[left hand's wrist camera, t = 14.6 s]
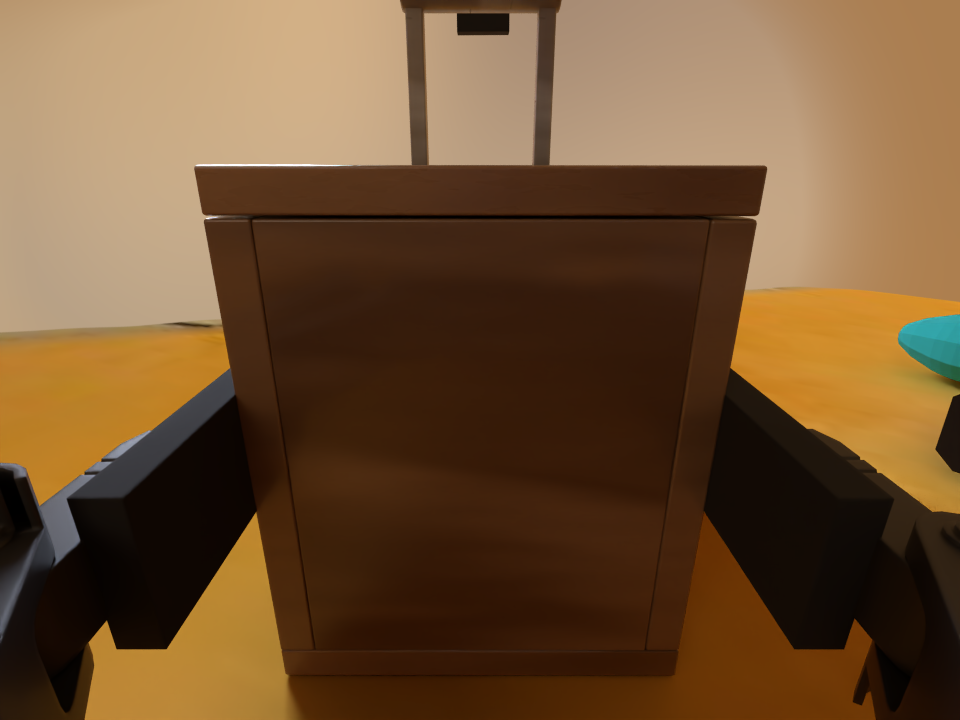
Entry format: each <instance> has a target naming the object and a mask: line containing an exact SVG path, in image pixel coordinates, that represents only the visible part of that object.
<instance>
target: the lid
mask: <svg viewBox="0 0 960 720" xmlns="http://www.w3.org/2000/svg"><path fill="white" fill-rule="evenodd" d="M400 2H401V7H402V10H403V12H404V13H405V15H406V38H407V63H408V86H409V110H410V133H411V156H412V165H197V166H195V168H194V170H195V175H196V180H197V186H198V192H199V197H200V203H201V208H202V213H203V214H204V215H213V216H214V215H215V216H217V215H218V216H756V215H758V214H759V211H760V206H761V200H762V195H763V189H764V184H765V178H766V173H767V167H766V166H642V165H640V166H639V165H633V166H630V165H626V166H625V165H624V166H623V165H622V166H621V165H620V166H619V165H614V166H613V165H612V166H611V165H549V161H550V139H551V117H552V95H553V72H554V50H555V28H556V13H558V12H559V9H560V6H561V0H400ZM424 13H538V17H537V46H536V75H535V105H534V134H533V163H532V165H429V155H428V123H427V92H426V60H425V29H424Z"/></svg>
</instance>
